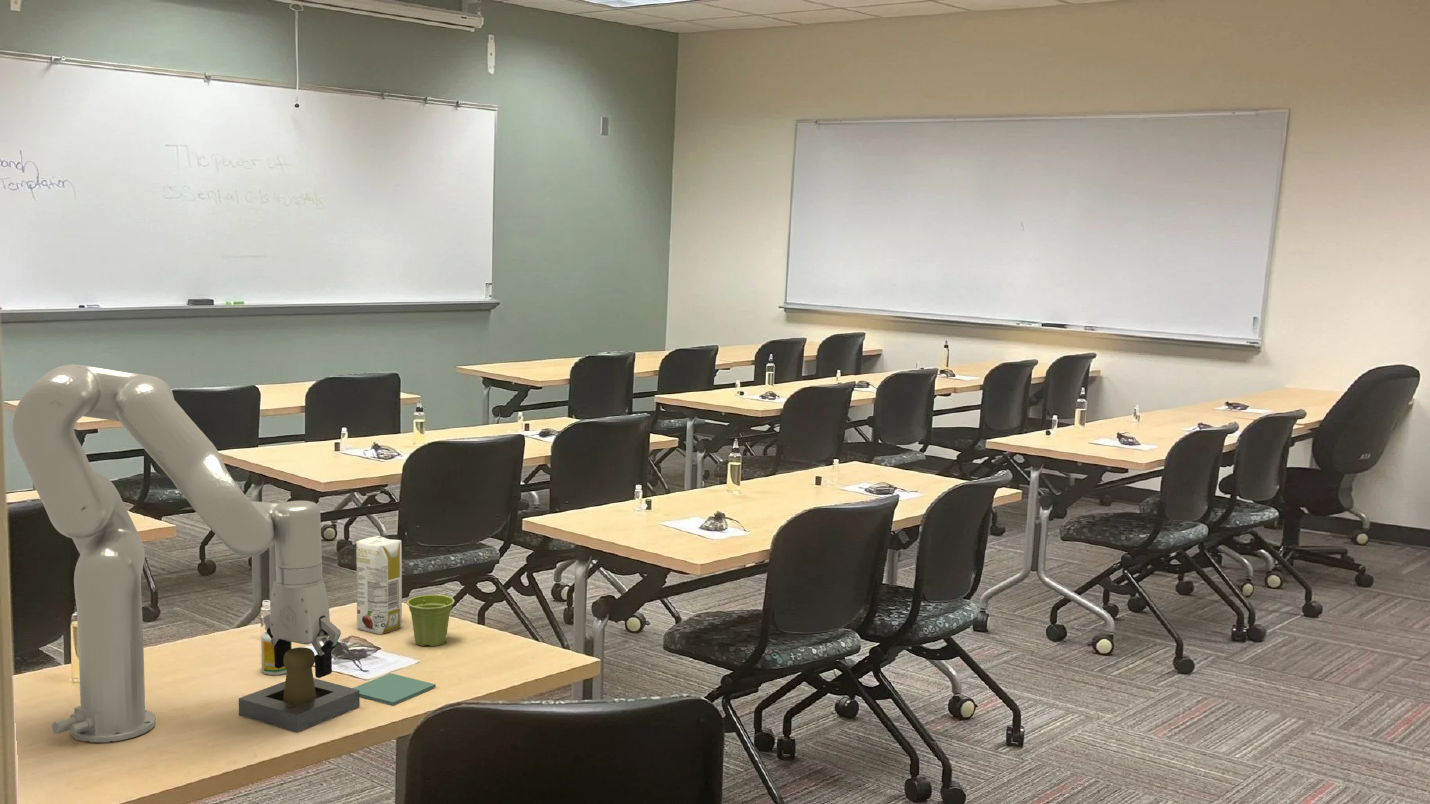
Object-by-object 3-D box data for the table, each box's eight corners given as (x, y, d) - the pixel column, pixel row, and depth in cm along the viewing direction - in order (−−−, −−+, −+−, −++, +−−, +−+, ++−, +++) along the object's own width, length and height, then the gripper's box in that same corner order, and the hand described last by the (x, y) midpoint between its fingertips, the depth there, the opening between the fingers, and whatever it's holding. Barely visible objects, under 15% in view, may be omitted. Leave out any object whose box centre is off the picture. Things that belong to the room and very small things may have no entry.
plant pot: (463, 642, 254) (463, 601, 253) (425, 652, 247) (425, 610, 246) (435, 632, 260) (436, 591, 259) (397, 641, 253) (397, 600, 252)
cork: (324, 711, 215) (324, 649, 214) (292, 720, 210) (291, 657, 209) (307, 702, 219) (306, 641, 218) (274, 710, 215) (273, 648, 213)
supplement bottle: (257, 669, 235) (256, 620, 233) (285, 664, 238) (285, 615, 237) (267, 677, 230) (267, 627, 229) (296, 672, 234) (295, 622, 233)
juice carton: (380, 636, 256) (380, 546, 254) (351, 629, 261) (350, 540, 258) (407, 627, 263) (407, 539, 261) (377, 620, 267) (377, 534, 265)
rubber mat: (393, 705, 218) (393, 702, 218) (347, 693, 224) (347, 690, 224) (435, 687, 228) (435, 684, 228) (390, 676, 233) (390, 672, 233)
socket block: (297, 732, 205) (297, 714, 205) (238, 715, 212) (238, 698, 212) (359, 706, 217) (359, 690, 217) (302, 691, 224) (301, 674, 224)
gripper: (246, 572, 213) (250, 668, 215) (319, 586, 204) (323, 686, 207) (280, 562, 219) (284, 656, 221) (353, 575, 211) (356, 672, 213)
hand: (303, 670), depth 214 cm, fingers open, 9 cm apart
